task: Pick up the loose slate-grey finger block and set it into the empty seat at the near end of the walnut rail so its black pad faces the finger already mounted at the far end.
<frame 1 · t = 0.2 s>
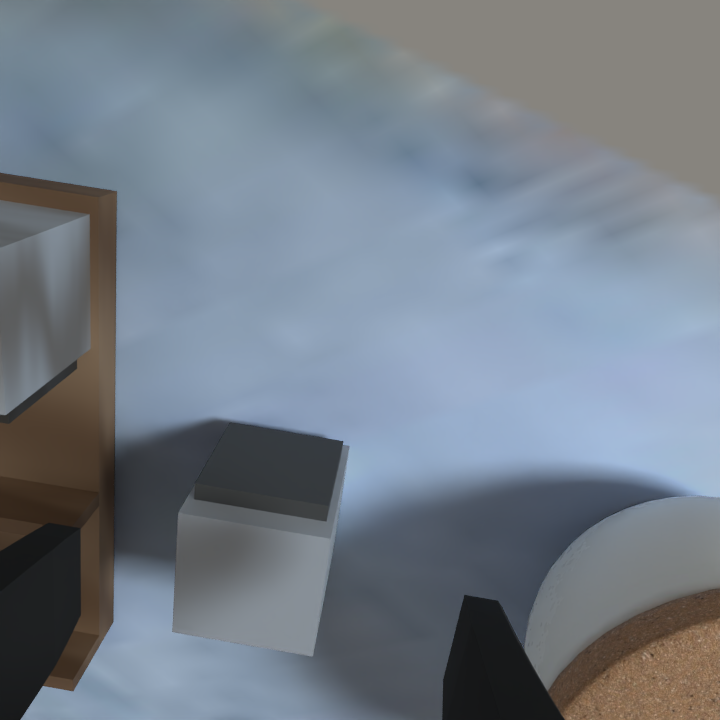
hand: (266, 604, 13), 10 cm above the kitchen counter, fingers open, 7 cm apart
finger block: (283, 487, 23), on the kitchen counter
lidded jar: (658, 573, 23), on the kitchen counter
rail: (48, 423, 23), on the kitchen counter
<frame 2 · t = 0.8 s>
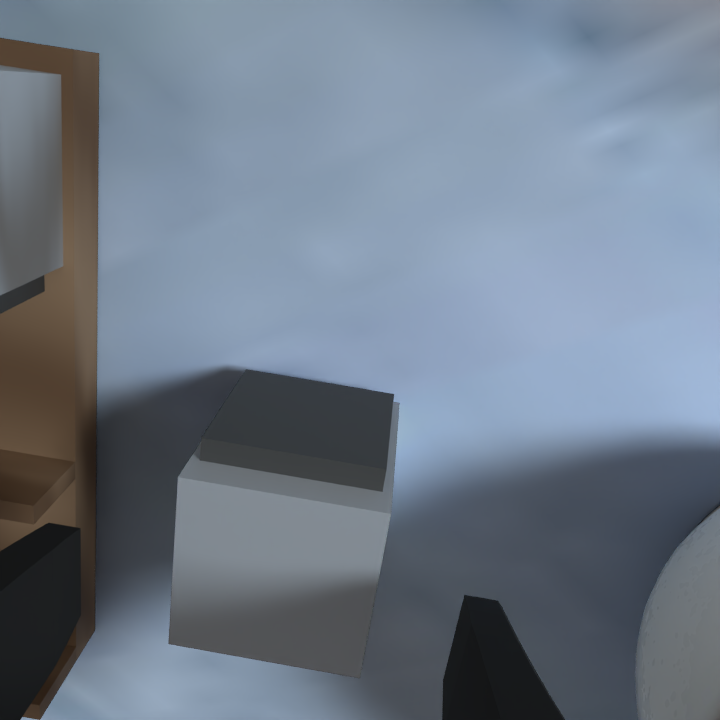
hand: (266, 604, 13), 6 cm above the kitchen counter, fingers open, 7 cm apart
finger block: (311, 458, 18), on the kitchen counter
rail: (11, 374, 18), on the kitchen counter
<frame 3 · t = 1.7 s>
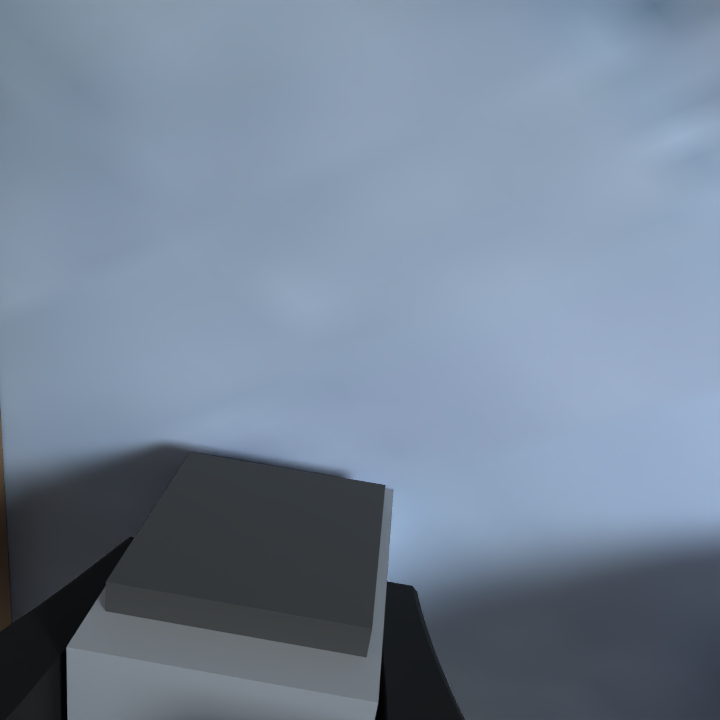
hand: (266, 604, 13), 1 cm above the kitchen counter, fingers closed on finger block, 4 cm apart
finger block: (280, 556, 14), on the kitchen counter, touching gripper
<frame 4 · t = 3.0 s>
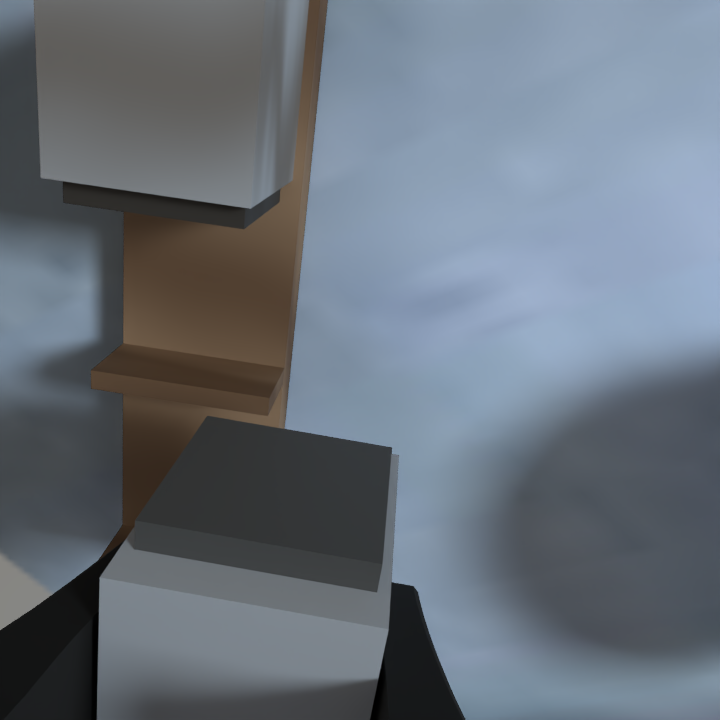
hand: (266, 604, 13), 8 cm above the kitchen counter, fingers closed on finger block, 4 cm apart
finger block: (290, 520, 15), point 6 cm above the kitchen counter, touching gripper
rail: (218, 291, 19), on the kitchen counter
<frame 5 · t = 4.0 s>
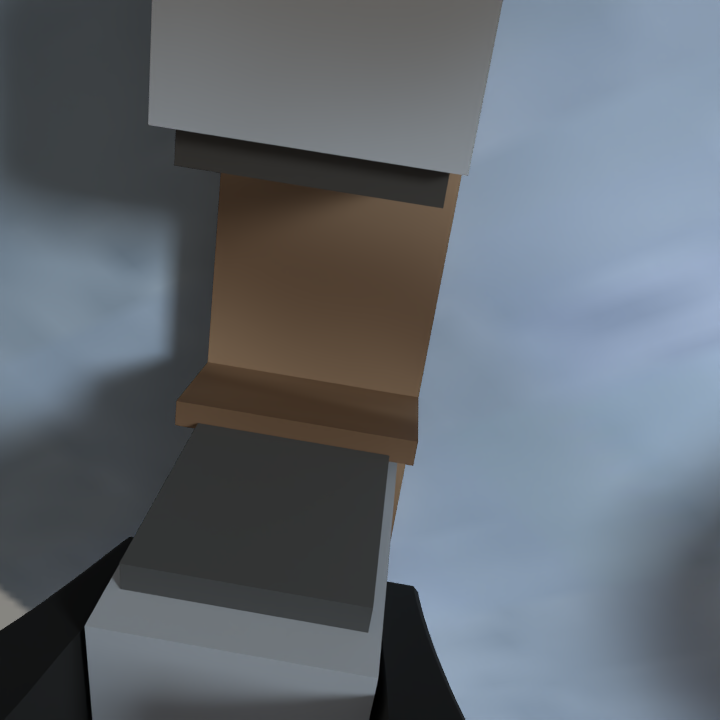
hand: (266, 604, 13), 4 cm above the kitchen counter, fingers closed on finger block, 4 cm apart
finger block: (289, 516, 15), point 2 cm above the kitchen counter, tilted 7°, touching gripper, rail
rail: (328, 296, 15), on the kitchen counter
when the fingers open (4 cm above the kitchen counter, at t = 4.4 s): finger block stays where it is, resting on rail.
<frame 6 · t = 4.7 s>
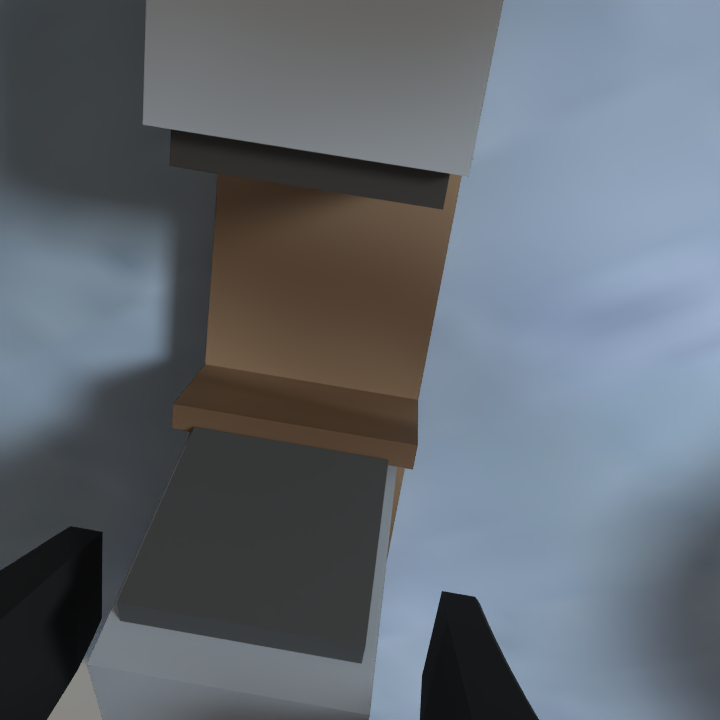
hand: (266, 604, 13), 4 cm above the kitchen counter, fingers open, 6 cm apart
finger block: (292, 500, 15), point 2 cm above the kitchen counter, tilted 18°, touching rail
rail: (327, 297, 15), on the kitchen counter
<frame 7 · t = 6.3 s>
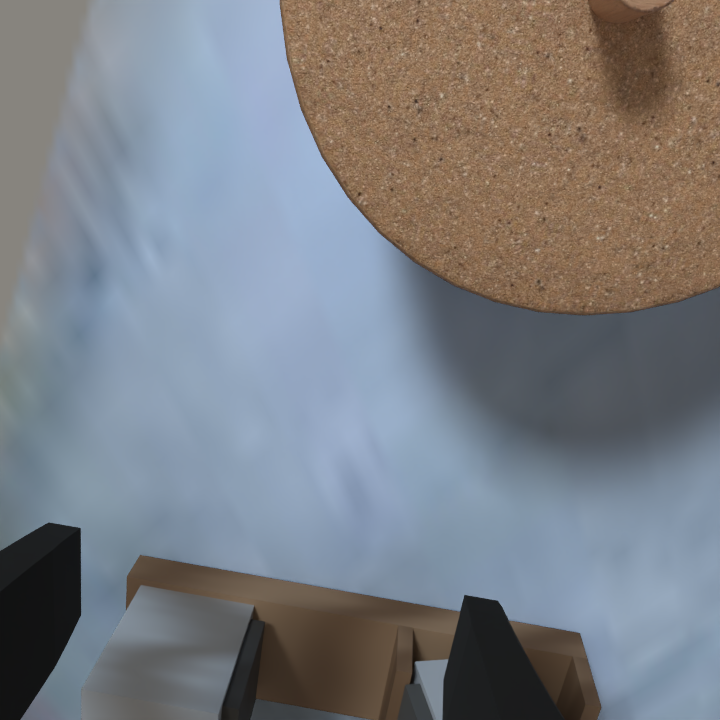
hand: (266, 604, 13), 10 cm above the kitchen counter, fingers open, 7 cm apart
finger block: (459, 701, 24), point 2 cm above the kitchen counter, tilted 18°, touching rail
lidded jar: (538, 31, 18), on the kitchen counter
rail: (349, 642, 26), on the kitchen counter
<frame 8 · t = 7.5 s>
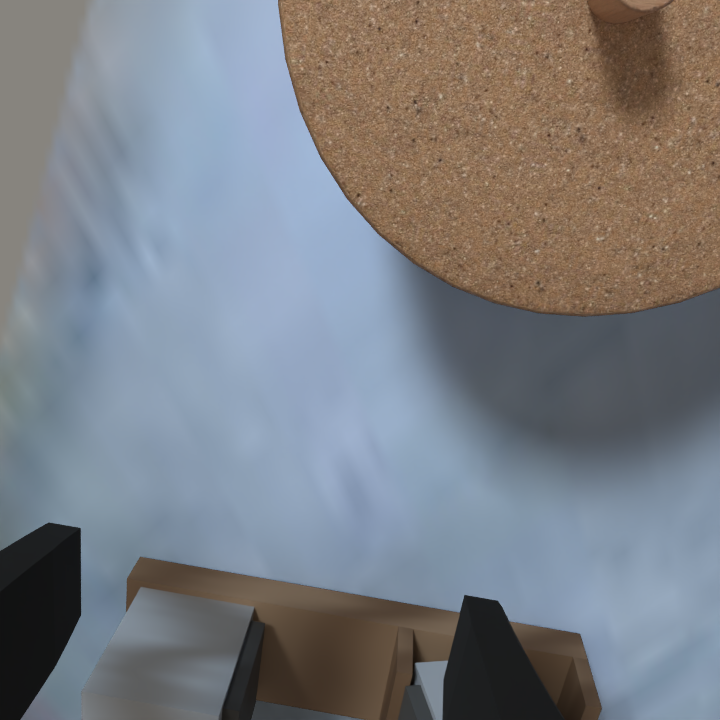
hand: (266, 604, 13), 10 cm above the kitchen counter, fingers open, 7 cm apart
finger block: (459, 702, 24), point 2 cm above the kitchen counter, tilted 18°, touching rail
lidded jar: (537, 32, 18), on the kitchen counter
rail: (349, 643, 26), on the kitchen counter
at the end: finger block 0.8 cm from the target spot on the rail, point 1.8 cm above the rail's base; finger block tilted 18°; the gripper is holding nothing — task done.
